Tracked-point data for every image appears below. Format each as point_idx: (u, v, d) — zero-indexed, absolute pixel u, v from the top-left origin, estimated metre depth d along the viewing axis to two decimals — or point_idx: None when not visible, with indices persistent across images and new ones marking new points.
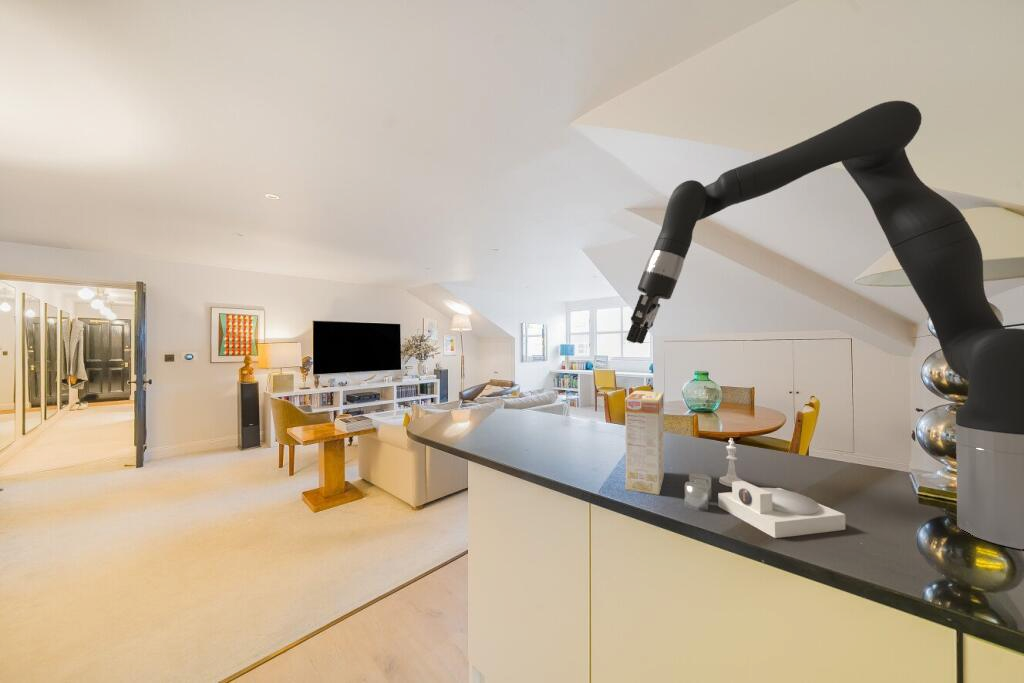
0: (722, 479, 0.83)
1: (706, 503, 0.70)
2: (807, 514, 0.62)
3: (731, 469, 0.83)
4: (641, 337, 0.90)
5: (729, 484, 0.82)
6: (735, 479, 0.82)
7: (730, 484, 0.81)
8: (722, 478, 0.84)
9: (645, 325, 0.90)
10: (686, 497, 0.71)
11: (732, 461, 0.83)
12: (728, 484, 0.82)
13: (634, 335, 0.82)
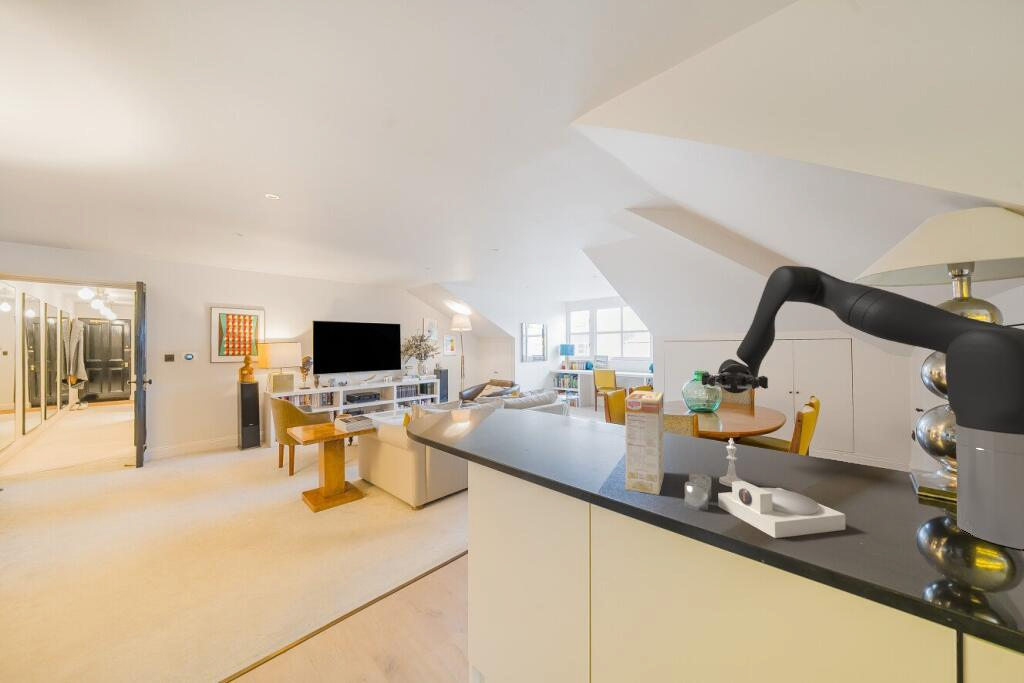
0: (722, 479, 0.83)
1: (706, 503, 0.70)
2: (807, 514, 0.62)
3: (731, 469, 0.83)
4: None
5: (729, 484, 0.82)
6: (735, 479, 0.82)
7: (730, 484, 0.81)
8: (722, 478, 0.84)
9: None
10: (686, 497, 0.71)
11: (732, 461, 0.83)
12: (728, 484, 0.82)
13: (708, 379, 0.94)
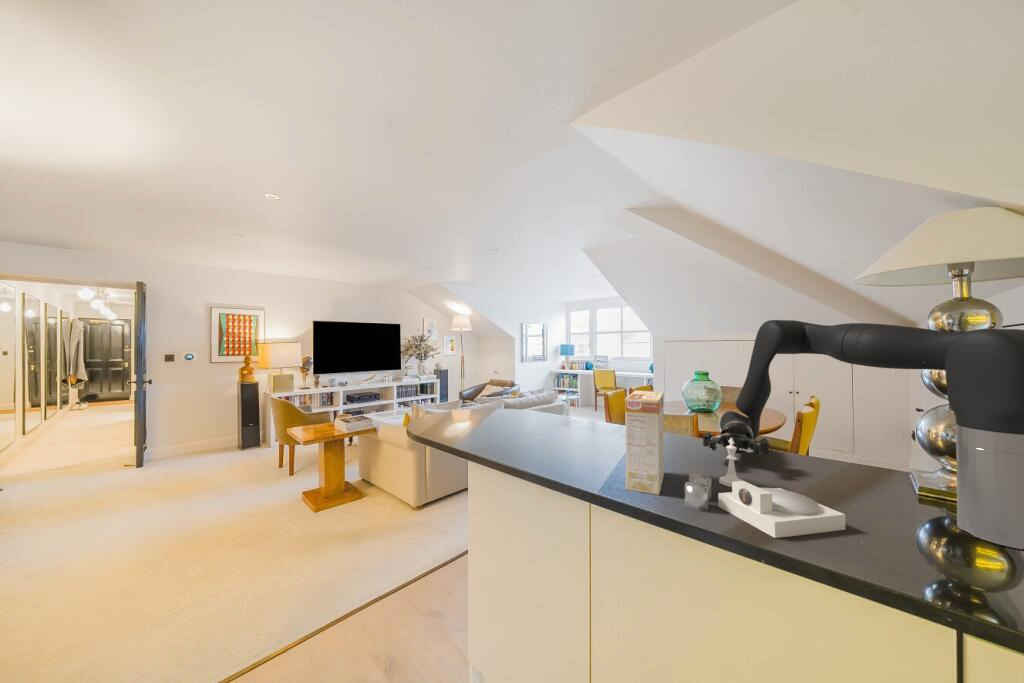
0: (722, 479, 0.83)
1: (706, 503, 0.70)
2: (807, 514, 0.62)
3: (731, 469, 0.83)
4: None
5: (729, 484, 0.82)
6: (735, 479, 0.82)
7: (730, 484, 0.81)
8: (722, 478, 0.84)
9: None
10: (686, 497, 0.71)
11: (732, 461, 0.83)
12: (728, 484, 0.82)
13: None
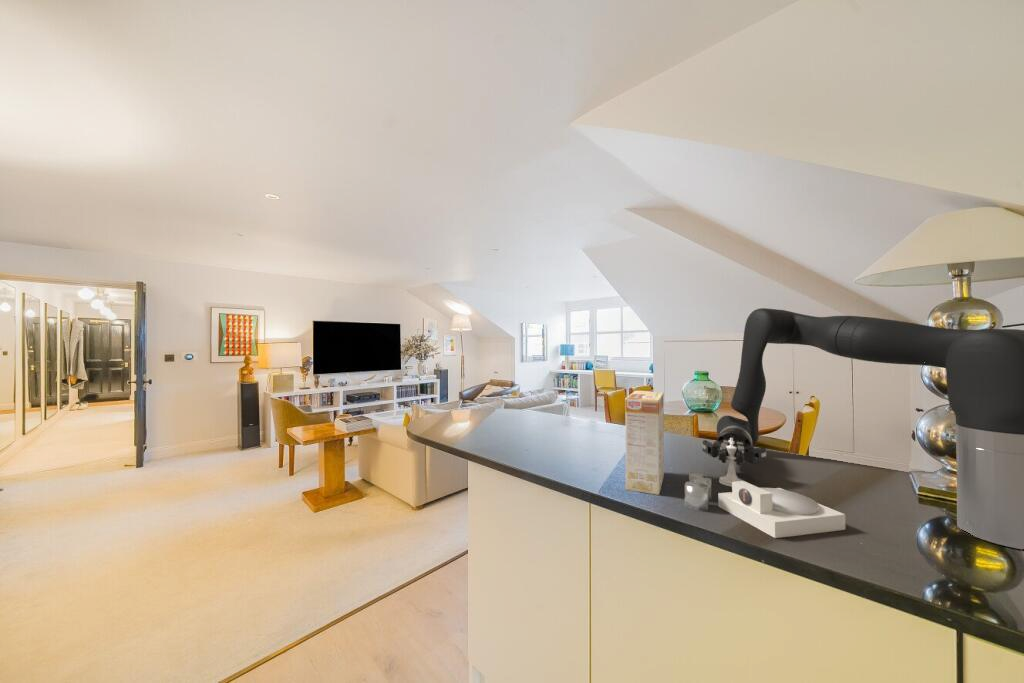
0: (722, 479, 0.83)
1: (706, 503, 0.70)
2: (807, 514, 0.62)
3: (731, 469, 0.83)
4: None
5: (729, 484, 0.82)
6: (735, 479, 0.82)
7: (730, 484, 0.81)
8: (722, 478, 0.84)
9: None
10: (686, 497, 0.71)
11: (732, 461, 0.83)
12: (728, 484, 0.82)
13: (719, 454, 0.84)
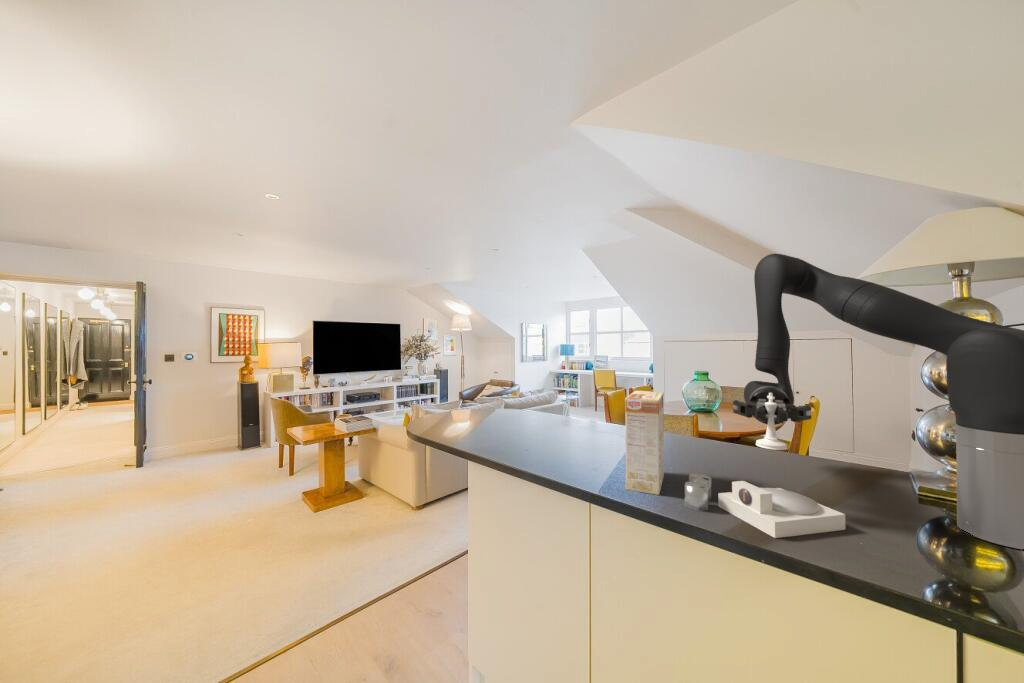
0: (760, 441, 0.70)
1: (706, 503, 0.70)
2: (807, 514, 0.62)
3: (771, 429, 0.70)
4: None
5: (769, 446, 0.68)
6: (776, 441, 0.69)
7: (770, 446, 0.68)
8: (760, 440, 0.71)
9: None
10: (686, 497, 0.71)
11: (772, 420, 0.70)
12: (768, 446, 0.69)
13: (756, 411, 0.70)
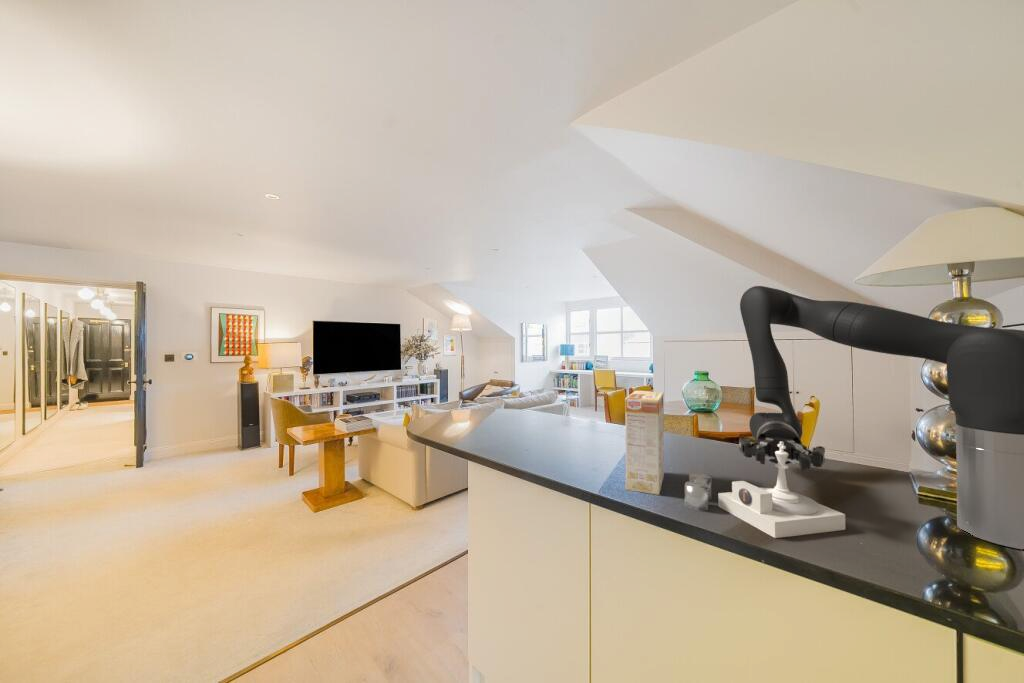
0: (770, 492, 0.67)
1: (706, 503, 0.70)
2: (807, 514, 0.62)
3: (782, 480, 0.67)
4: (800, 459, 0.65)
5: (780, 499, 0.65)
6: (787, 493, 0.66)
7: (781, 499, 0.65)
8: (770, 491, 0.67)
9: None
10: (686, 497, 0.71)
11: (783, 470, 0.67)
12: (779, 499, 0.65)
13: (756, 453, 0.68)
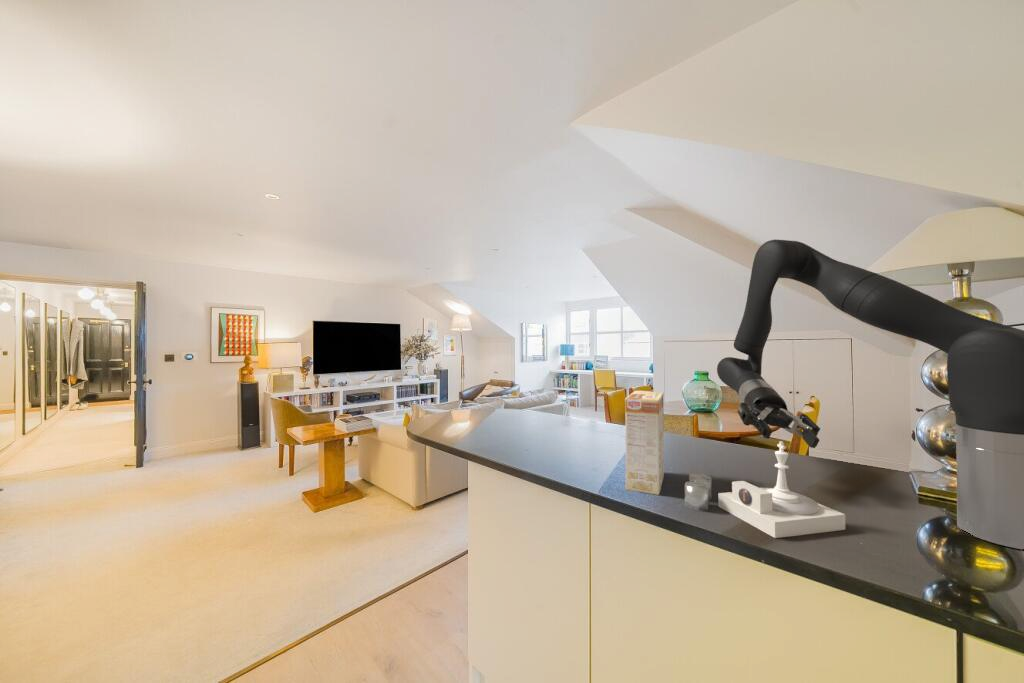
0: (770, 492, 0.67)
1: (706, 503, 0.70)
2: (807, 514, 0.62)
3: (782, 480, 0.67)
4: (810, 437, 0.76)
5: (780, 499, 0.65)
6: (787, 493, 0.66)
7: (781, 499, 0.65)
8: (770, 491, 0.67)
9: (803, 430, 0.79)
10: (686, 497, 0.71)
11: (783, 470, 0.67)
12: (779, 499, 0.65)
13: (761, 427, 0.78)
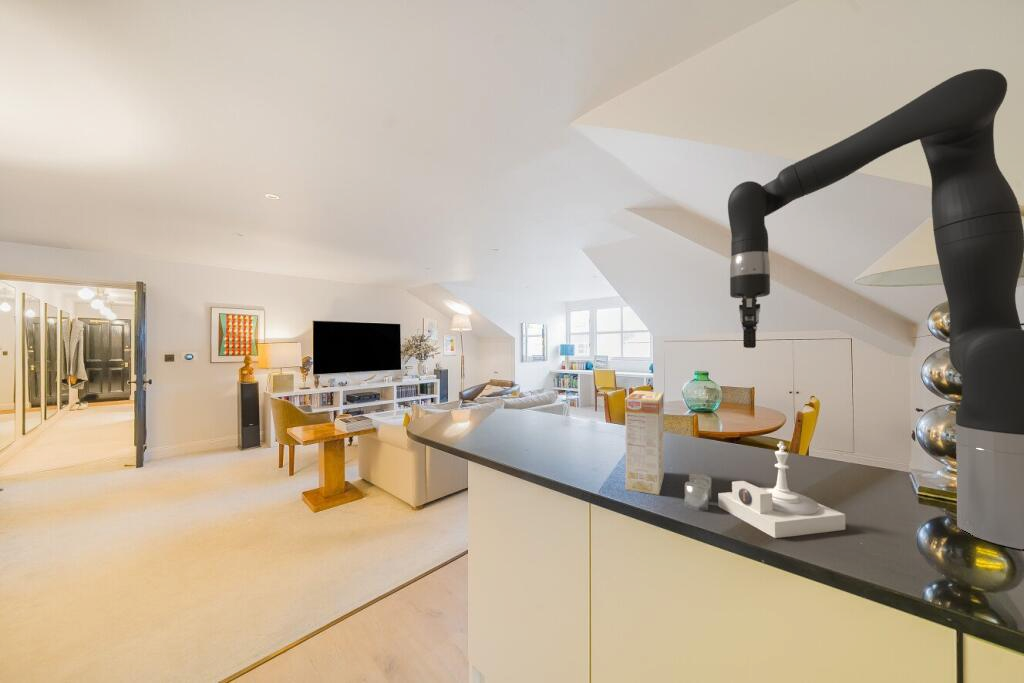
0: (770, 492, 0.67)
1: (706, 503, 0.70)
2: (807, 514, 0.62)
3: (782, 480, 0.67)
4: None
5: (780, 499, 0.65)
6: (787, 493, 0.66)
7: (781, 499, 0.65)
8: (770, 491, 0.67)
9: None
10: (686, 497, 0.71)
11: (783, 470, 0.67)
12: (779, 499, 0.65)
13: (751, 340, 0.79)
